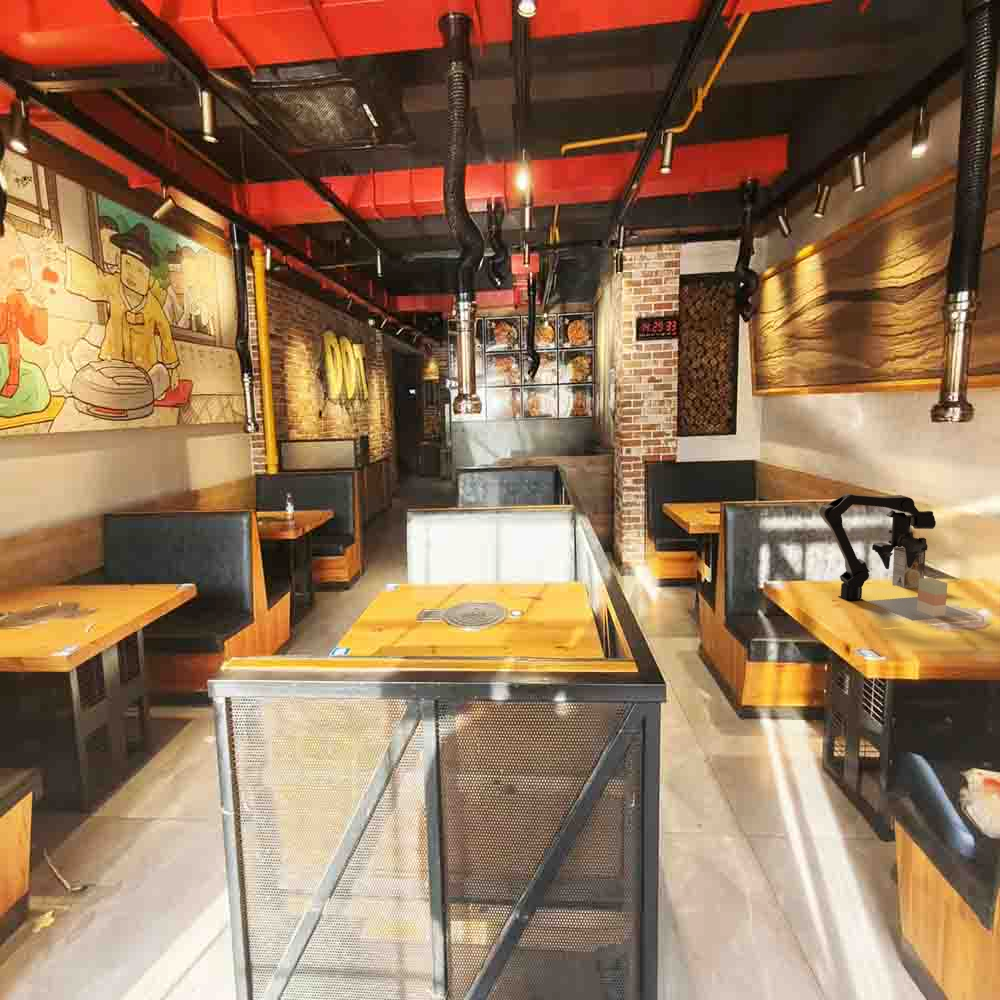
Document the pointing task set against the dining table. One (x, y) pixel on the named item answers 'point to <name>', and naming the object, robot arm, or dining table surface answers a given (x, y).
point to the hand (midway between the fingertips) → (898, 568)
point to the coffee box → (907, 569)
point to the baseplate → (912, 608)
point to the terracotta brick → (931, 598)
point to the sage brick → (932, 586)
